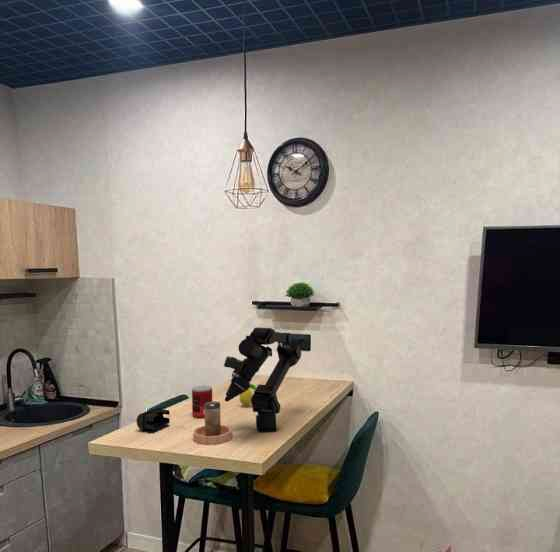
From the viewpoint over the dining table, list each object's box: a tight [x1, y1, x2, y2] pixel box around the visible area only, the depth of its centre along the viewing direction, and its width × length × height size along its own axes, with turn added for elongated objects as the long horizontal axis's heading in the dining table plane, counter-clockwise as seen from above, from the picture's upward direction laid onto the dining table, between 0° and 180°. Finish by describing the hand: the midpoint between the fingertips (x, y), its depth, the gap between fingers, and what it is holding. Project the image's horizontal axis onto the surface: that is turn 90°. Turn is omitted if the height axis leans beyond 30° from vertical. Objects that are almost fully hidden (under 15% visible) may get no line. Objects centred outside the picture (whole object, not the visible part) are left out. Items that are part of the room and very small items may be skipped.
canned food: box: [191, 384, 213, 419], centre depth 186 cm, size 8×8×11 cm
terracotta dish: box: [192, 424, 233, 446], centre depth 160 cm, size 13×13×2 cm
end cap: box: [136, 406, 171, 434], centre depth 171 cm, size 10×7×7 cm
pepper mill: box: [204, 401, 222, 436], centre depth 160 cm, size 5×5×11 cm
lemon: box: [239, 383, 257, 407], centre depth 199 cm, size 7×6×10 cm
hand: (226, 398), depth 163 cm, fingers open, 9 cm apart
